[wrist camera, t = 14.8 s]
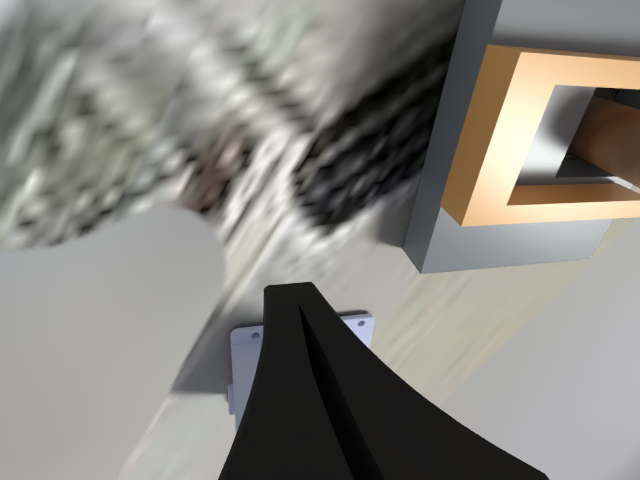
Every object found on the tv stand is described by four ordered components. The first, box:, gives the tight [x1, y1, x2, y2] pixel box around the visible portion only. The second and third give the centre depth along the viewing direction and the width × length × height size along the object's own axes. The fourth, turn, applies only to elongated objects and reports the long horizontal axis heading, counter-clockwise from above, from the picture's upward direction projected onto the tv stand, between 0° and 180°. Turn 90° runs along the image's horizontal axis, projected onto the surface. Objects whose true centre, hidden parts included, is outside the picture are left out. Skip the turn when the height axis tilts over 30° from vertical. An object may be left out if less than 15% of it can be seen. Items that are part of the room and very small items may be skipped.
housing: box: [402, 0, 640, 274], centre depth 20 cm, size 12×16×2 cm
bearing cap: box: [440, 44, 640, 227], centre depth 18 cm, size 11×7×2 cm, turn 84°
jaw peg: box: [567, 95, 640, 188], centre depth 19 cm, size 3×3×6 cm
